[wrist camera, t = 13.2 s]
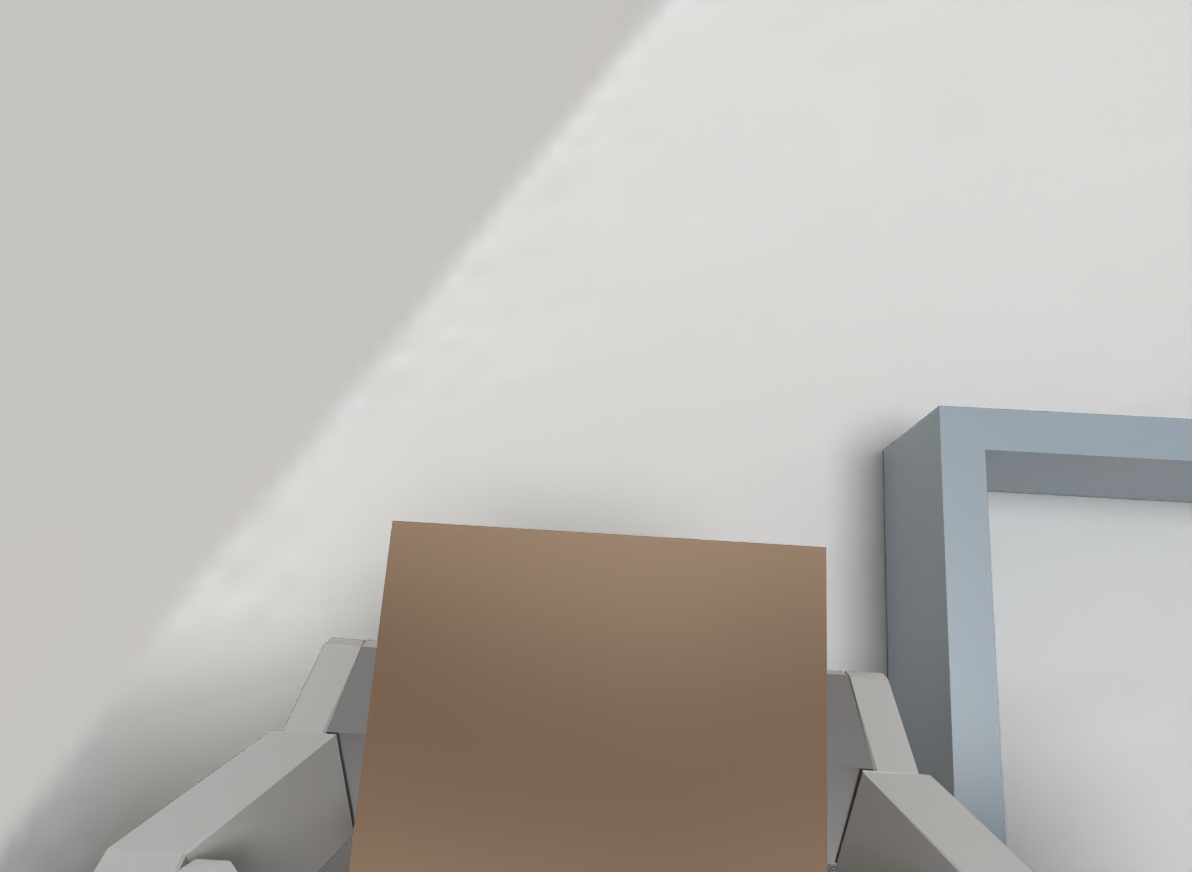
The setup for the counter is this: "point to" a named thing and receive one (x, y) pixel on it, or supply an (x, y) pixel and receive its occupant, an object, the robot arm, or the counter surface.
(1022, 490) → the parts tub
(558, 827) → the walnut block
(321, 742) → the robot arm
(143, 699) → the counter surface
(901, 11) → the counter surface
